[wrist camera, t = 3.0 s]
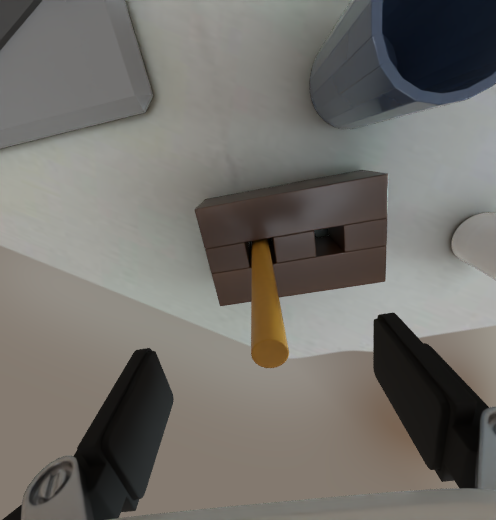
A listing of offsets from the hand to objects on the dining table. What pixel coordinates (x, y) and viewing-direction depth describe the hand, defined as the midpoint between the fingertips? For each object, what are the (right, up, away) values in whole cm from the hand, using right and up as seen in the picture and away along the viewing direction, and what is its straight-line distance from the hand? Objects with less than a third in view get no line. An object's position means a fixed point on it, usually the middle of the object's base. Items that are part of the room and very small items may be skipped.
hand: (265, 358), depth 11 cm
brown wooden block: (+3, +7, +15) cm, 17 cm away
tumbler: (+8, +19, +10) cm, 23 cm away
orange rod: (0, +7, +16) cm, 17 cm away
